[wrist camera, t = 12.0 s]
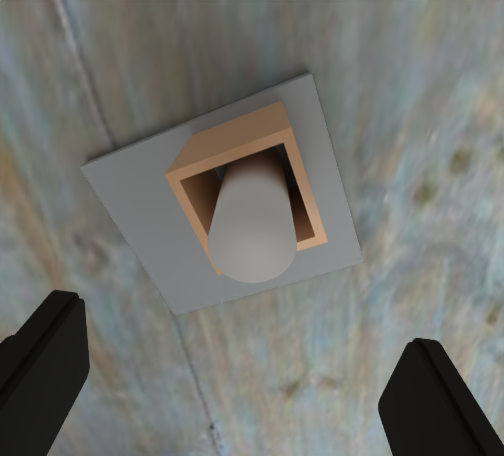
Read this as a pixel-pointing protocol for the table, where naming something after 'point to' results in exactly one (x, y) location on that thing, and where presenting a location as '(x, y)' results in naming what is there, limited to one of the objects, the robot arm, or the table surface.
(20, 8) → the table surface
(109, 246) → the table surface
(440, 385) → the robot arm
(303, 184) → the hollow square tube
